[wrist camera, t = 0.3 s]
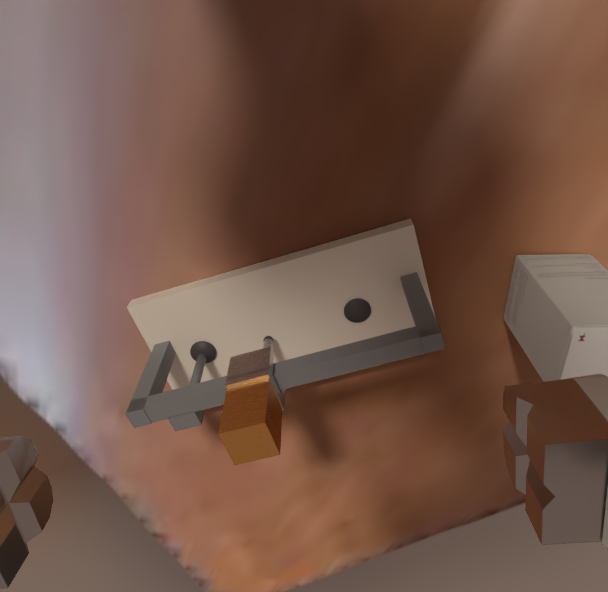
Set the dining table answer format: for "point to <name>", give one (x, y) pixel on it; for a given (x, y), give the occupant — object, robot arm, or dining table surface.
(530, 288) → the supplement box
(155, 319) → the hole plate
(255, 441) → the leg
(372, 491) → the dining table surface
